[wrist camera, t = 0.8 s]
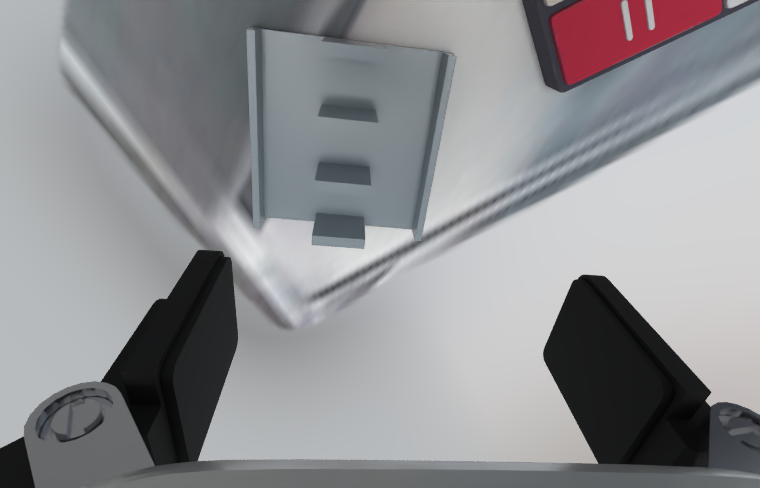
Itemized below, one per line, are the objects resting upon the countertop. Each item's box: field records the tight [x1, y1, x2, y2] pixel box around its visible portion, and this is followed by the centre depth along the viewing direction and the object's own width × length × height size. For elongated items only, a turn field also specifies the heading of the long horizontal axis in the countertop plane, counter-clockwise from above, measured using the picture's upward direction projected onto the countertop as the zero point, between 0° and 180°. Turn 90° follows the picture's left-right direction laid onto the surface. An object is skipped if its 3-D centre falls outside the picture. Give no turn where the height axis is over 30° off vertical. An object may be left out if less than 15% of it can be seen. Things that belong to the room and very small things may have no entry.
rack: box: [246, 27, 456, 249], centre depth 30 cm, size 14×14×5 cm
